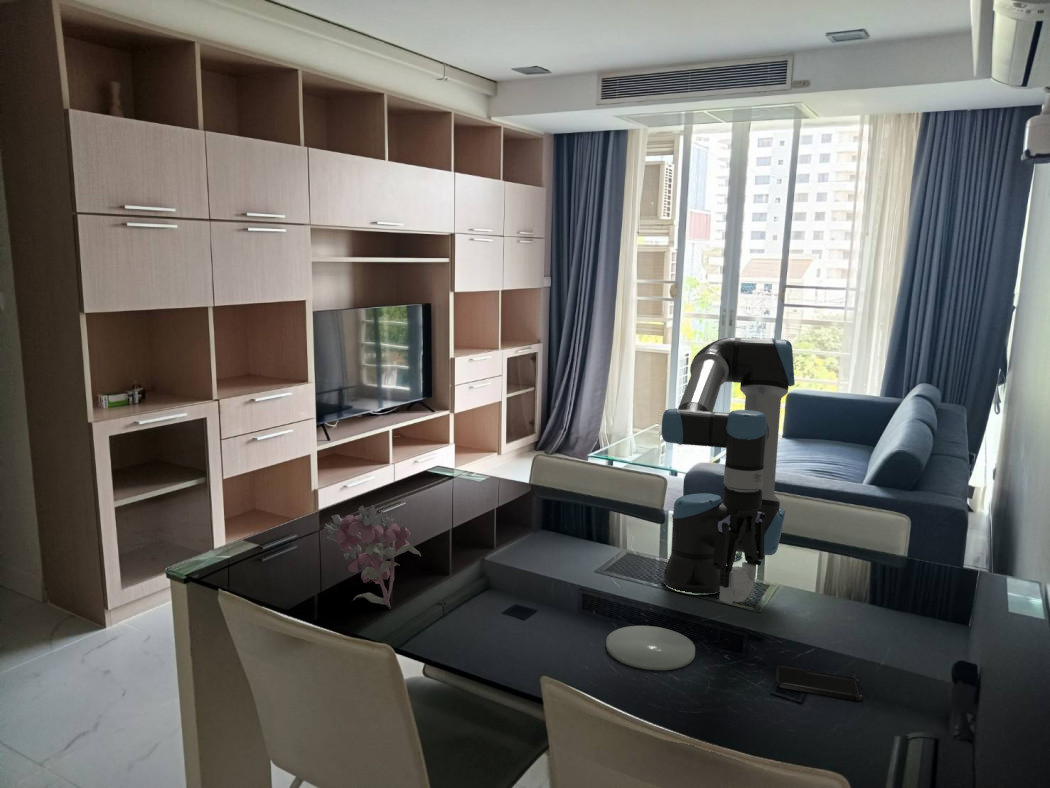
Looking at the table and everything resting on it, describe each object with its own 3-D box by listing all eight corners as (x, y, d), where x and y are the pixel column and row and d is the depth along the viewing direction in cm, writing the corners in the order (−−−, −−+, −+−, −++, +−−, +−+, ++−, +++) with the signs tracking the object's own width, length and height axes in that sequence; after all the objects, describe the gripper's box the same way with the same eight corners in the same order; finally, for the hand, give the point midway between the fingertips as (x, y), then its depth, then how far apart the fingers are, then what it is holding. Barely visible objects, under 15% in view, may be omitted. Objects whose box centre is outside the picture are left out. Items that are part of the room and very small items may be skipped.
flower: (452, 585, 185) (420, 488, 189) (400, 607, 165) (365, 498, 169) (388, 607, 193) (358, 513, 197) (330, 631, 173) (299, 525, 177)
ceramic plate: (588, 643, 158) (588, 638, 158) (649, 624, 169) (649, 619, 169) (651, 678, 144) (651, 672, 144) (713, 655, 155) (713, 649, 155)
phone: (863, 697, 138) (775, 682, 142) (862, 703, 138) (775, 688, 142) (858, 678, 145) (776, 664, 150) (858, 683, 145) (775, 669, 150)
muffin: (747, 607, 152) (749, 573, 151) (717, 600, 155) (719, 567, 154) (755, 597, 157) (757, 564, 156) (726, 591, 160) (728, 559, 159)
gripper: (727, 498, 144) (721, 614, 147) (787, 485, 156) (780, 593, 159) (696, 490, 150) (691, 602, 153) (756, 477, 162) (750, 582, 165)
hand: (736, 597), depth 156 cm, fingers closed on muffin, 6 cm apart
